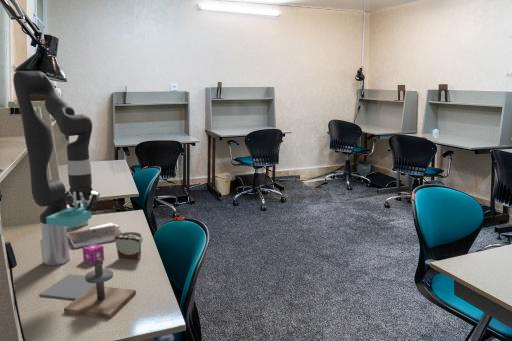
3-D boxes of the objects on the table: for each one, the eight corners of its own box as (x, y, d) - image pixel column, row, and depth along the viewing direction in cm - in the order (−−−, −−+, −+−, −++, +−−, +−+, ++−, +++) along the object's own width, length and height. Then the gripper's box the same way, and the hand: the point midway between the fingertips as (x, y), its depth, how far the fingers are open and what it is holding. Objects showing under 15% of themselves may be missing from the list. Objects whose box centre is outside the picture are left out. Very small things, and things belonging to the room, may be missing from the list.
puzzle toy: (95, 256, 178) (94, 243, 177) (104, 259, 176) (103, 246, 175) (83, 261, 174) (82, 248, 173) (92, 264, 171) (91, 250, 170)
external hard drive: (87, 231, 211) (110, 225, 220) (96, 235, 206) (119, 228, 215) (87, 228, 211) (110, 222, 220) (96, 231, 205) (119, 225, 215)
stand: (64, 312, 134) (59, 266, 131) (93, 289, 149) (90, 247, 146) (110, 318, 131) (106, 271, 128) (135, 293, 146) (133, 251, 143)
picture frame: (74, 248, 187) (124, 239, 198) (73, 243, 187) (123, 234, 198) (68, 237, 201) (115, 229, 212) (67, 232, 201) (114, 224, 212)
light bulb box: (84, 221, 224) (82, 201, 222) (88, 224, 219) (87, 204, 217) (63, 225, 218) (61, 205, 216) (67, 229, 213) (65, 208, 211)
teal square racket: (46, 224, 142) (46, 217, 142) (75, 211, 157) (74, 205, 156) (73, 226, 140) (72, 219, 140) (99, 213, 155) (99, 206, 154)
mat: (39, 295, 145) (39, 294, 145) (69, 275, 160) (69, 274, 160) (78, 300, 142) (78, 298, 142) (105, 279, 157) (105, 277, 157)
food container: (149, 255, 179) (148, 233, 177) (142, 261, 173) (140, 238, 171) (123, 253, 182) (122, 230, 180) (115, 258, 176) (113, 235, 174)
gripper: (55, 173, 148) (59, 221, 152) (90, 175, 145) (94, 224, 149) (68, 169, 155) (72, 214, 159) (103, 170, 152) (106, 217, 156)
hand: (83, 219), depth 154 cm, fingers closed on teal square racket, 2 cm apart
